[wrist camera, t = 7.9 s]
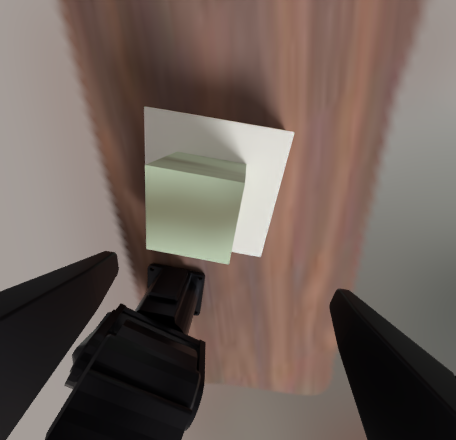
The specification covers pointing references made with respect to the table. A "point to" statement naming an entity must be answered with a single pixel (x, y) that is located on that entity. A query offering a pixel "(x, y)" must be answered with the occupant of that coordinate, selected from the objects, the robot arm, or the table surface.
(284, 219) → the table surface
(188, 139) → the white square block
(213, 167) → the green cube
